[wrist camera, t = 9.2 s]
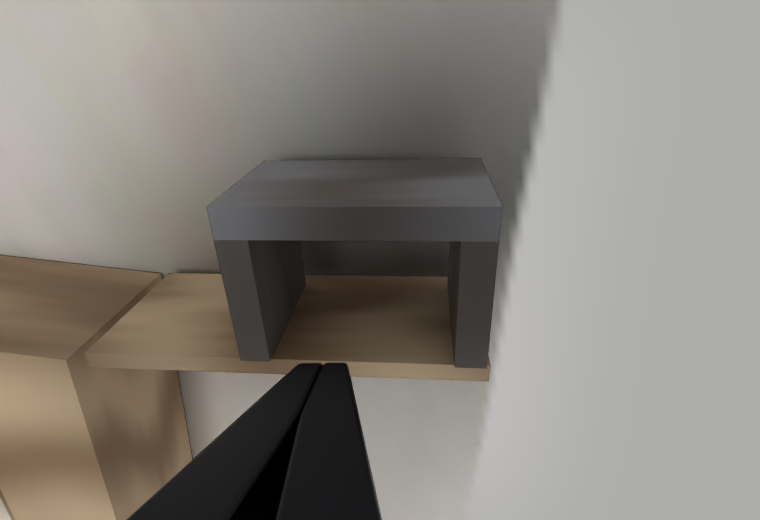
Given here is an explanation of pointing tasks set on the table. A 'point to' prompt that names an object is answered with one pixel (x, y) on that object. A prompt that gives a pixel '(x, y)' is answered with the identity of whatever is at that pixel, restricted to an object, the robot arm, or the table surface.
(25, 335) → the carton
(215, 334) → the flap
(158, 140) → the table surface
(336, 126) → the table surface
